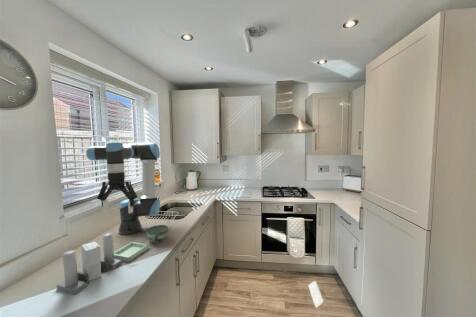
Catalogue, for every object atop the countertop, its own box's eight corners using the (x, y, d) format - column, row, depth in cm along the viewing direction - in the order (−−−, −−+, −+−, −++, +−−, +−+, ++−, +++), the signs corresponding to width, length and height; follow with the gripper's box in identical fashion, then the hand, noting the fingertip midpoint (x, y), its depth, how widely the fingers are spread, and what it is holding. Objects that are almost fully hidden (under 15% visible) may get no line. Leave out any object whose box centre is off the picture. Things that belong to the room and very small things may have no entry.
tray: (110, 258, 112) (110, 254, 111) (132, 245, 125) (131, 241, 125) (128, 262, 108) (128, 257, 108) (148, 248, 122) (148, 244, 121)
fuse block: (57, 289, 88) (54, 253, 87) (106, 260, 110) (104, 231, 109) (74, 294, 84) (71, 257, 83) (121, 263, 106) (119, 234, 105)
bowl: (173, 237, 135) (172, 226, 135) (159, 247, 123) (158, 234, 122) (156, 235, 140) (156, 224, 139) (141, 244, 127) (140, 232, 127)
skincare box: (82, 275, 98) (80, 245, 97) (97, 269, 102) (95, 240, 101) (87, 282, 92) (85, 250, 91) (102, 275, 97) (100, 245, 96)
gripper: (87, 173, 101) (89, 214, 102) (135, 172, 99) (137, 215, 100) (98, 171, 108) (101, 210, 109) (143, 170, 106) (145, 210, 107)
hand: (118, 212), depth 105 cm, fingers open, 13 cm apart
